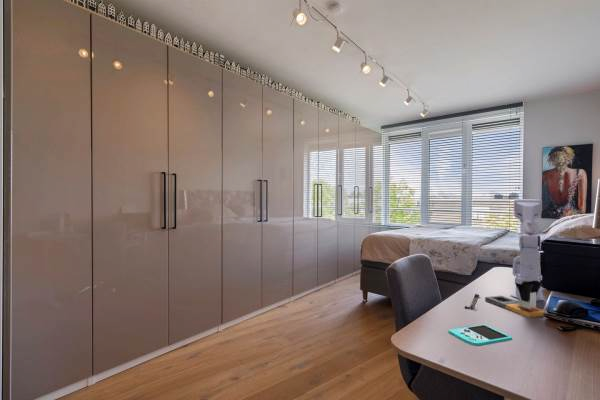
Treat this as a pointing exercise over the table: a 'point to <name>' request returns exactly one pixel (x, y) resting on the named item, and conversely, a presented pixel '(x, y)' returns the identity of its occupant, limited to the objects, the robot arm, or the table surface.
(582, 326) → the table surface
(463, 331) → the handheld game console
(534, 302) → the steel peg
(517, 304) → the rail plate
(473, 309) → the tactical tomahawk
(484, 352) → the table surface
